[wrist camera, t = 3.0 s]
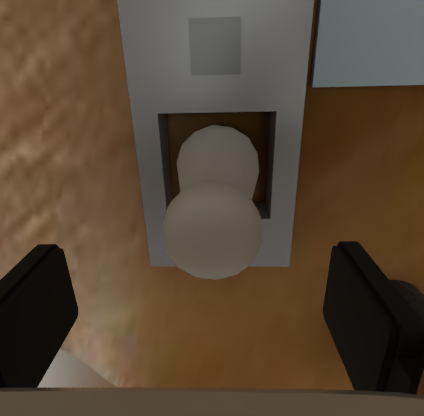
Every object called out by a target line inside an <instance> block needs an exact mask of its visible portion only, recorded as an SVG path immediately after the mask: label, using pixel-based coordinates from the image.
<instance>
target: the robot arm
mask: <svg viewBox="0 0 424 416" xmlns="http://www.w3.org/2000/svg"><path fill="white" fill-rule="evenodd" d="M323 315H324V319H325V321H326V324H327V326H328V328H329V331H330V333H331V335H332V338H333V340H334V343H335V345H336V347H337V350H338V352H339V354H340V357H341V359H342V361H343V364H344V366H345V369H346V371H347V373H348V376H349V378H350V380H351V383H352V385H353V388H354V390H324V389H253V388H37V387H38V385H39V383H40V382H41V380H42V378H43V376H44V375H45V373H46V371H47V369H48V368H49V366H50V364H51V363H52V361H53V359H54V357H55V356H56V354H57V352H58V350H59V349H60V347H61V345H62V344H63V342H64V340H65V338H66V337H67V335H68V333H69V331H70V330H71V328H72V326H73V324H74V323H75V321H76V319H77V316H78V306H77V302H76V298H75V294H74V290H73V286H72V282H71V278H70V274H69V270H68V266H67V262H66V258H65V254H64V251H63V249H61V248H59V247H58V246H57V245H56V244H40V245H37V246H36V247H35V248H34V249H33V250H31V251H30V252H29V253H28V254H27V255H26V256H25V257H24V258H23V259H22V260H21V261H20V262H19V263H18V264H17V265H16V266H15V267H14V268H13V269H12V270H10V271H9V272H8V273H7V274H6V275H5V276H4V277H3V278H2V279H1V280H0V416H424V322H423V321H422V319H421V318H420V317H419V316H418V314H417V313H416V312H415V311H414V309H413V308H412V307H411V306H410V305H409V303H408V302H407V301H406V300H405V298H404V297H403V296H402V295H401V293H400V292H399V291H398V290H397V289H396V287H395V286H394V285H393V284H392V283H391V282H390V281H389V280H388V278H387V277H386V276H385V275H384V273H383V272H382V271H381V270H380V268H379V267H378V266H377V265H376V263H375V262H374V261H373V260H372V258H371V257H370V256H369V255H368V254H367V252H366V251H365V250H364V249H363V247H362V246H361V245H360V244H359V243H358V242H356V241H351V242H339V243H338V245H337V246H333V248H332V252H331V259H330V266H329V272H328V279H327V286H326V292H325V299H324V306H323Z"/></svg>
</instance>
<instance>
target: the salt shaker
mask: <svg viewBox="0 0 424 416" xmlns="http://www.w3.org/2000/svg"><path fill="white" fill-rule="evenodd" d="M176 163H177V170H178V178H179V185H180V193H179V194H178V195H177V196H176V197H175V198H174V199H173V200H172V201H171V202H170V204H169V206H168V209H167V212H166V215H165V219H164V222H163V225H162V235H163V240H164V245H165V251H166V253H167V254H168V256H169V257H170V258H171V259H172V261H173V262H174V263H175V264H176V265H177V267H178V268H180V269H182V270H184V271H185V272H187V273H189V274H191V275H193V276H195V277H197V278H207V279H221V278H225V277H229V276H233V275H237V274H238V273H240V272H241V271H242V270H243V269H245V268H246V267H247V266H248V265H250V264H251V263H252V262H253V260H254V258H255V256H256V254H257V252H258V250H259V248H260V246H261V243H262V227H261V216H260V214H259V211H258V210H257V208H256V206H255V205H254V203H253V201H252V197H253V194H254V190H255V186H256V182H257V179H258V175H259V162H258V153H257V152H256V150H255V148H254V146H253V144H252V143H251V141H250V139H249V137H247V136H245V135H244V134H242V133H241V132H239V131H237V130H236V129H234V128H232V127H226V126H219V125H211V126H208V127H206V128H203V129H200V130H198V131H195V132H194V133H193V134H192V135H191V136H190V137H189V138H188V139H187V140H186V141H185V142H184V143H183V144H182V145H181V149H180V152H179V155H178V159H177V162H176Z"/></svg>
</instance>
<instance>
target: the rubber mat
mask: <svg viewBox="0 0 424 416" xmlns="http://www.w3.org/2000/svg"><path fill="white" fill-rule="evenodd" d="M395 85H424V0H319V2H318V13H317V23H316V33H315V43H314V54H313V64H312V74H311V84H310V87H353V86H395Z"/></svg>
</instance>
